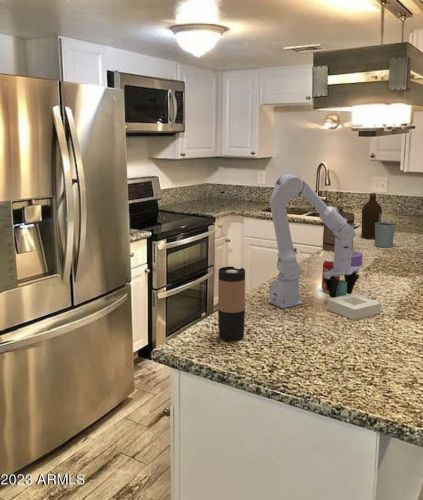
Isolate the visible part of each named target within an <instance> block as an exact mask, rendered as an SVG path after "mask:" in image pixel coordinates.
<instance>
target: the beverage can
mask: <svg viewBox="0 0 423 500" xmlns="http://www.w3.org/2000/svg"><path fill="white" fill-rule="evenodd" d="M332 269H334V257H333V258H332V257H331V258H330V257H329V258H328V257H327V258H325V259H324V261H323V263H322V277H321V278H322V280H321V290H323V292H324V293H327V294H329V290H328V287H327V284H326V282H325V280H324V272H328V271H330V270H332ZM335 278H336V279H337V280H341V276H337V277H335Z"/></svg>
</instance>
